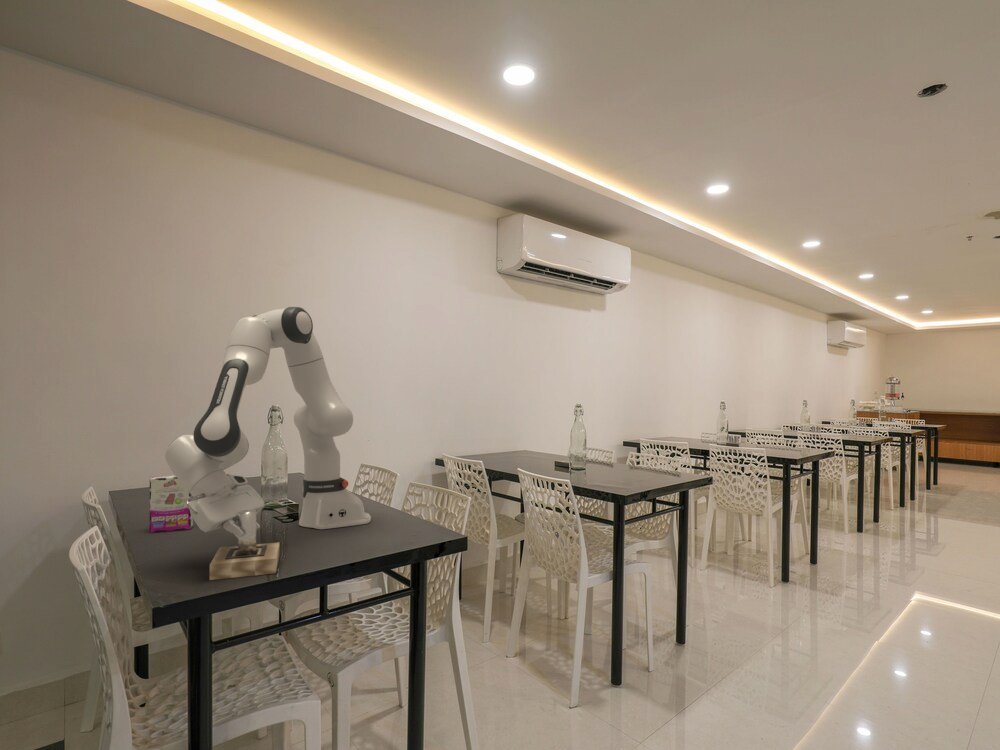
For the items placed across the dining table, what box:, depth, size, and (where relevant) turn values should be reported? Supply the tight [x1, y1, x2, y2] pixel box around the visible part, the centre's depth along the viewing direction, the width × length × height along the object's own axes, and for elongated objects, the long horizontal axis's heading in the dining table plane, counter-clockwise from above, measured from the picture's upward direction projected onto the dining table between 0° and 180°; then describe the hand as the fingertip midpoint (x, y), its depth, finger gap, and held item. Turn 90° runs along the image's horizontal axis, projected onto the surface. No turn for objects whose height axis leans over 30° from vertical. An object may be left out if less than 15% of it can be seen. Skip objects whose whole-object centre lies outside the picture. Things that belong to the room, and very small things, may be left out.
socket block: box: [209, 542, 281, 581], centre depth 134 cm, size 14×14×4 cm
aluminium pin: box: [237, 510, 257, 556], centre depth 134 cm, size 4×4×12 cm
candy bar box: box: [148, 474, 194, 534], centre depth 169 cm, size 11×5×16 cm, turn 112°
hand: (249, 532), depth 134 cm, fingers closed on aluminium pin, 4 cm apart
